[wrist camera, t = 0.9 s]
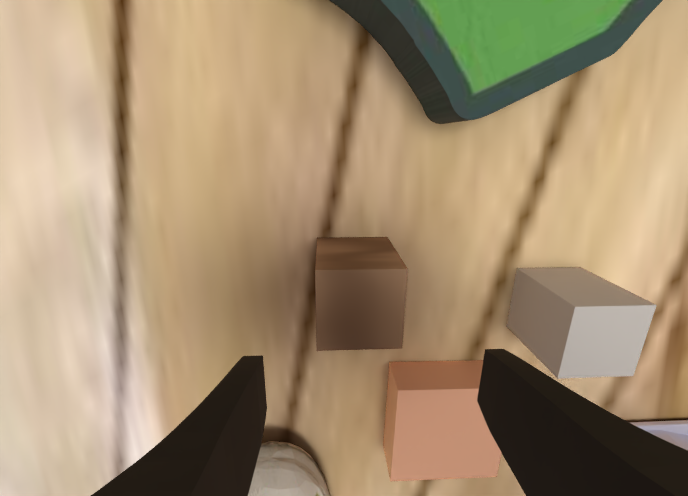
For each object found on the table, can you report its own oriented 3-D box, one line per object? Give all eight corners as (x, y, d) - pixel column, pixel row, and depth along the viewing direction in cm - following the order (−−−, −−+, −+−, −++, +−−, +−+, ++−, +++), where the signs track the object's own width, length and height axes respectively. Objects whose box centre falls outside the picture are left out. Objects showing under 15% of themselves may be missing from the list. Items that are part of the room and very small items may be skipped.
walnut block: (387, 237, 19) (407, 269, 15) (384, 299, 21) (401, 348, 16) (317, 237, 19) (315, 270, 14) (318, 301, 20) (316, 350, 16)
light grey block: (579, 266, 21) (656, 305, 16) (566, 324, 22) (633, 375, 17) (516, 267, 20) (575, 306, 16) (506, 325, 22) (557, 378, 17)
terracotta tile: (491, 356, 23) (515, 387, 20) (476, 438, 25) (496, 476, 22) (388, 358, 22) (398, 390, 19) (382, 441, 24) (390, 481, 22)
